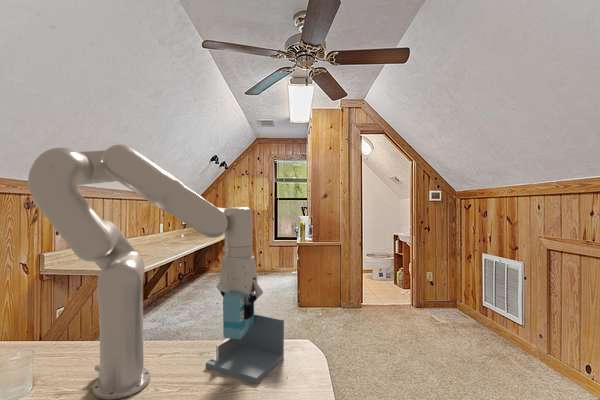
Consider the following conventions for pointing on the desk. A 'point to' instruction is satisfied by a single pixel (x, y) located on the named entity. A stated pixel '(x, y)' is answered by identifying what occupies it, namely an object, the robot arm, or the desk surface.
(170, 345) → the desk surface
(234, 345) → the bookend
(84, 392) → the desk surface
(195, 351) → the desk surface
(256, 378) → the l-shaped stand
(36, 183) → the robot arm
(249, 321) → the data package
